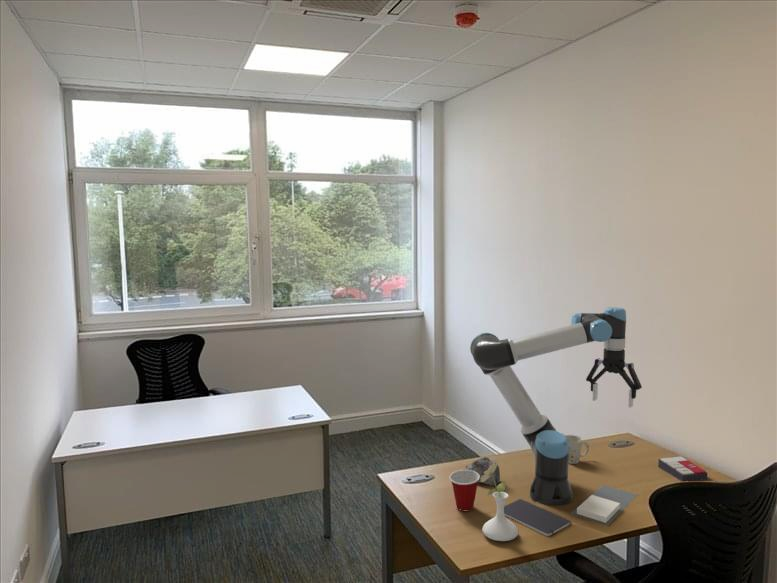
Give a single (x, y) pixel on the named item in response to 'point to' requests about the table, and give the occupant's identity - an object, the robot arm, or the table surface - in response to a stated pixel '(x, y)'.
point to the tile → (598, 508)
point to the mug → (575, 448)
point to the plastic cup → (464, 488)
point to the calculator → (682, 469)
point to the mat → (612, 495)
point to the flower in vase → (498, 513)
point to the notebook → (535, 517)
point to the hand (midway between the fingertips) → (612, 403)
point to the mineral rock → (483, 466)
